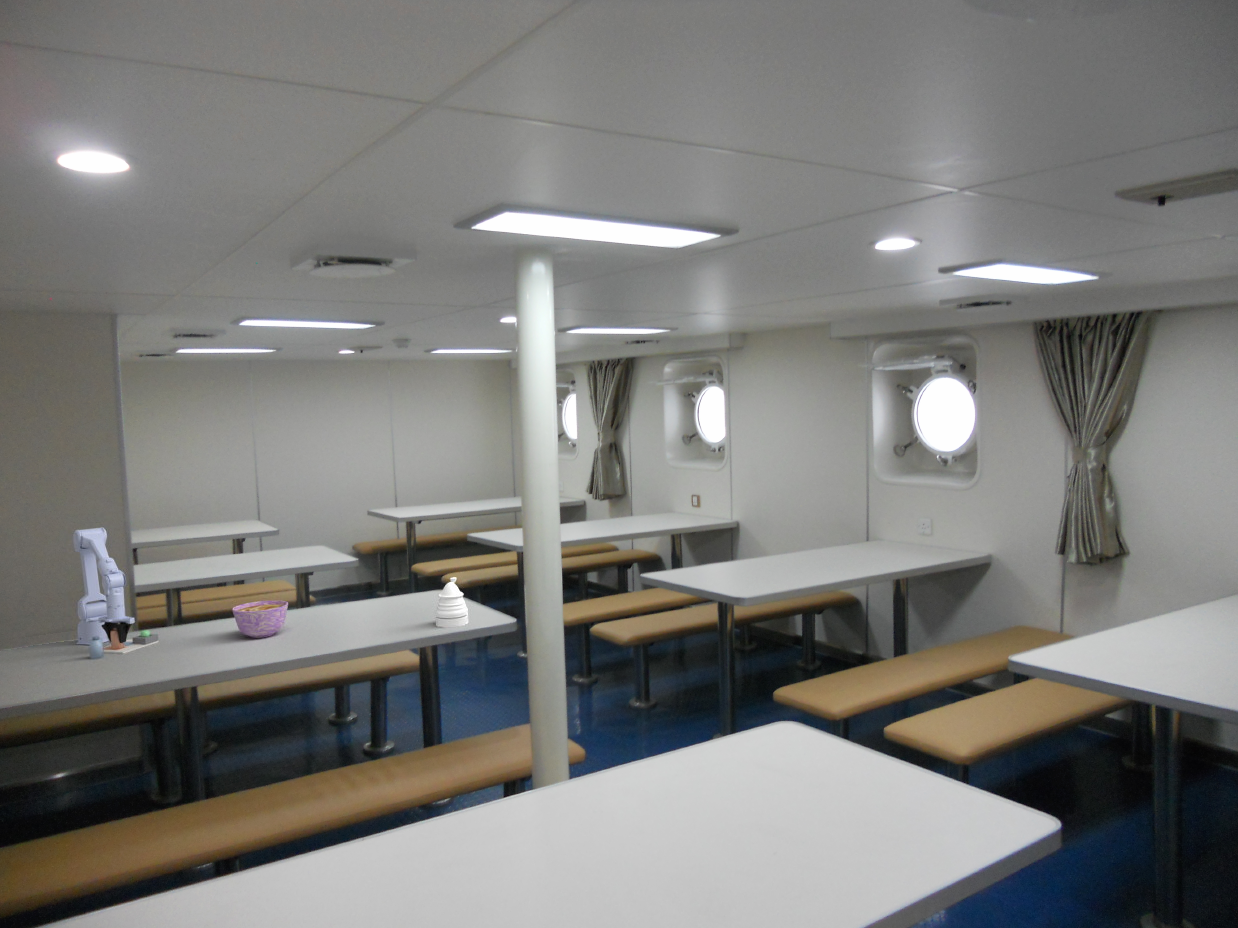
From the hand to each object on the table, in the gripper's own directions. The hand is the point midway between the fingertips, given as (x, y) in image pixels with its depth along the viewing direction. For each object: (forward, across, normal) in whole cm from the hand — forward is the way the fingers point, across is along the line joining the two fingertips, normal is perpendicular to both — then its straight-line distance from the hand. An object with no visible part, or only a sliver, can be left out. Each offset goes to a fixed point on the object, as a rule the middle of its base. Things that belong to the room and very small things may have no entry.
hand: (117, 642), depth 306 cm
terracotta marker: (+2, 0, 0) cm, 2 cm away
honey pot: (+3, +108, +55) cm, 121 cm away
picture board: (+3, 0, +4) cm, 5 cm away
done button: (+1, +4, +9) cm, 10 cm away
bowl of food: (+3, +41, +27) cm, 49 cm away
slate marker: (+3, +1, -10) cm, 10 cm away
